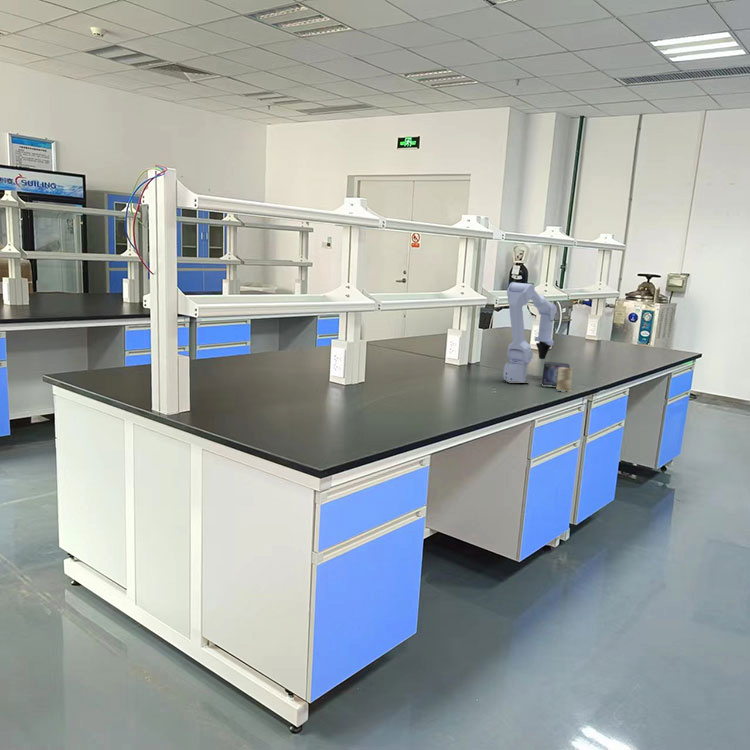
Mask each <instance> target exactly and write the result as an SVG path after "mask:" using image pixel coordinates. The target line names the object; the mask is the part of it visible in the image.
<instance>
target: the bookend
mask: <svg viewBox="0 0 750 750" xmlns="http://www.w3.org/2000/svg"><path fill="white" fill-rule="evenodd" d="M573 373H574V368H573V367H570V368H559V370H558V378H557V386H556V388H555V390H556V389H562V390H565V391H572V392H573V390H572V389H571V388H572V381H573V380H572V379H573Z"/></svg>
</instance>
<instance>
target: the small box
mask: <svg viewBox="0 0 750 750" xmlns="http://www.w3.org/2000/svg"><path fill="white" fill-rule="evenodd" d="M559 368H571V367H570V364H569V363H563V362H555V361H544V362H543V371H542V376H541V377H542V380H541V383H542V384H543V385H552V386H557V378H558V370H559ZM542 384H541V385H542Z"/></svg>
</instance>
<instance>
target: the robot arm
mask: <svg viewBox="0 0 750 750" xmlns="http://www.w3.org/2000/svg"><path fill="white" fill-rule="evenodd" d="M506 294H507V303H508V306H509V307H508V309H509V318H510V326H511V327H510V328H511V335H512V342H510V343H509V344H508V346H507V348H508V349H507V353H506V354H507V359H508V360H509V362H505V364H504V367H503V373H502V374H503V375H502V376H503V377H502V379H503V378H504V379H506V380H508V381H519V382H524V381H526V378H527V371H528V370H527V369H528V364H530V362H532V360H533V357H534V356H533V355H534V353H533V350H532V348H531V347H532V346H531V344H530V343H528V342H527V341H526V334H525V333H526V332H525V326H524V325H525V323H524V312H523V307H524V306H526V305H527V304H528V303H529V302H530V301H532V304H533V306H534V307H535V308H536V309H537V311H538V314H539V315H540V317H539V327H538V335H537V336H534V341H535V342H536V343H535V344H536V347H537V351H538V357H539V359H540V360H545V359H546V357H547V354H548V352H549V350H550V348H551V347H552V346H554V340H553V339H552V332H553V331H552V330H553V323H554V320H555V317H556V314H557V311H558V310H557V305H556V304H555V303H551V302H550V301H549V300H548V299H547V298H546V296H545V295H543V294H540V295H539V294H538V292H537V291H536V290H535V285H534V284H532V283H526V282H525V283H521V282H514V281H512V282H510V283H509V285H508V288H507V289H506ZM526 382H527V381H526Z"/></svg>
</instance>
